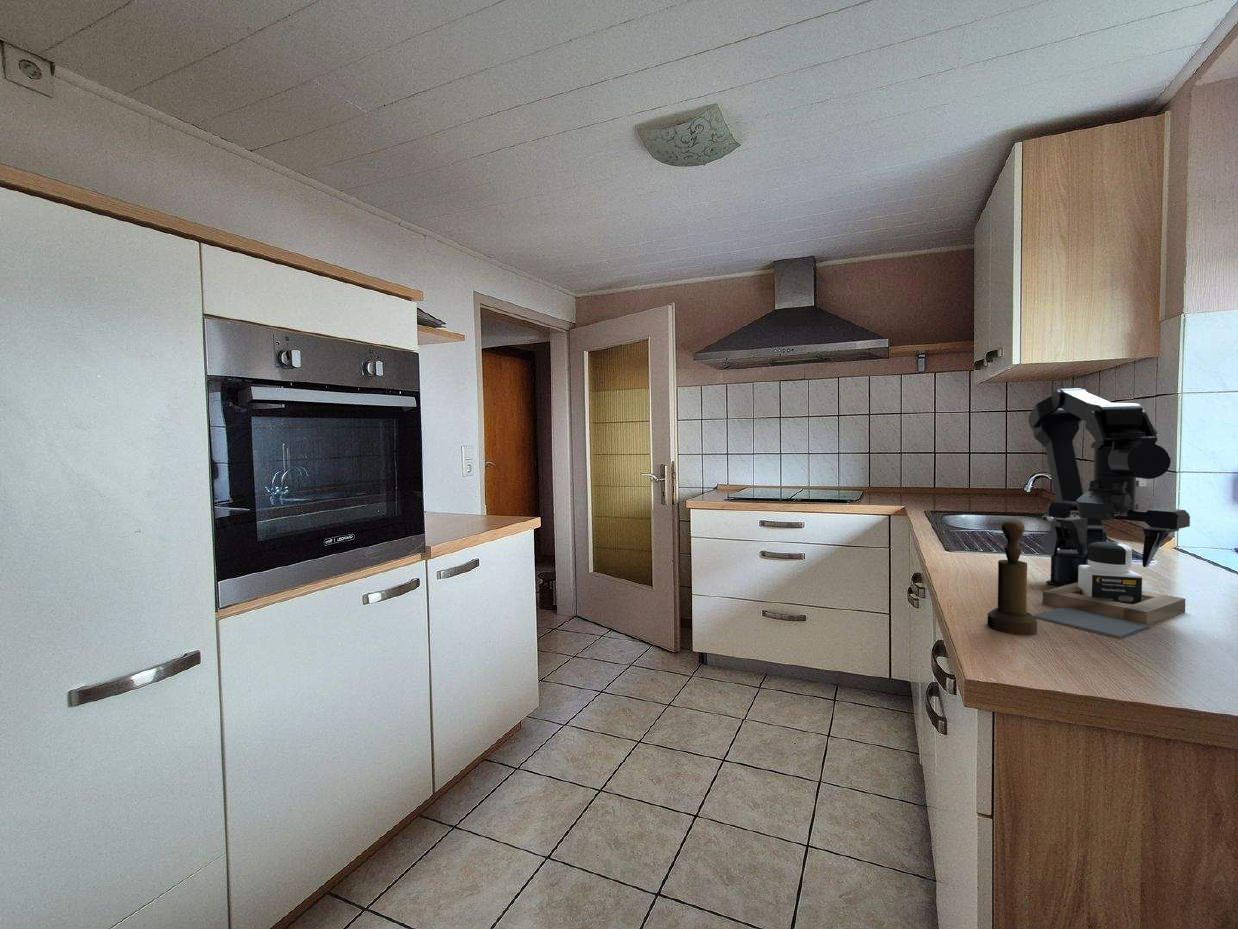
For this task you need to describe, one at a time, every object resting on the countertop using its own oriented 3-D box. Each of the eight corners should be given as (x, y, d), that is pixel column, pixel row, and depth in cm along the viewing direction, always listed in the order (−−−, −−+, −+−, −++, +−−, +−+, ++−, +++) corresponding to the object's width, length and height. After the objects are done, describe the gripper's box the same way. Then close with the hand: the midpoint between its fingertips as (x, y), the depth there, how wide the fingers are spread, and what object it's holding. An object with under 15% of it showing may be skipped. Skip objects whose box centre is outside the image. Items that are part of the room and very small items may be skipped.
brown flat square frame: (1042, 604, 106) (1042, 591, 106) (1083, 593, 113) (1083, 580, 113) (1146, 627, 93) (1146, 612, 93) (1185, 612, 100) (1185, 598, 100)
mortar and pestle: (1029, 625, 95) (1030, 517, 94) (1043, 638, 89) (1045, 523, 88) (982, 622, 97) (983, 516, 96) (993, 634, 91) (995, 521, 90)
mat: (1032, 619, 98) (1033, 615, 98) (1063, 609, 103) (1063, 606, 103) (1120, 640, 88) (1120, 636, 88) (1149, 628, 92) (1149, 625, 92)
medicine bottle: (1091, 612, 103) (1092, 545, 102) (1077, 601, 110) (1078, 539, 109) (1142, 616, 100) (1143, 548, 100) (1124, 605, 107) (1125, 541, 106)
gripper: (1031, 474, 107) (1030, 557, 107) (1163, 480, 90) (1160, 578, 91) (1063, 471, 112) (1061, 551, 113) (1192, 476, 96) (1189, 569, 96)
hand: (1112, 561), depth 103 cm, fingers open, 9 cm apart
